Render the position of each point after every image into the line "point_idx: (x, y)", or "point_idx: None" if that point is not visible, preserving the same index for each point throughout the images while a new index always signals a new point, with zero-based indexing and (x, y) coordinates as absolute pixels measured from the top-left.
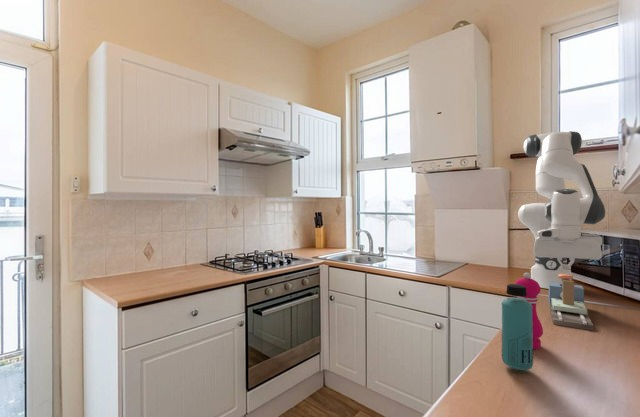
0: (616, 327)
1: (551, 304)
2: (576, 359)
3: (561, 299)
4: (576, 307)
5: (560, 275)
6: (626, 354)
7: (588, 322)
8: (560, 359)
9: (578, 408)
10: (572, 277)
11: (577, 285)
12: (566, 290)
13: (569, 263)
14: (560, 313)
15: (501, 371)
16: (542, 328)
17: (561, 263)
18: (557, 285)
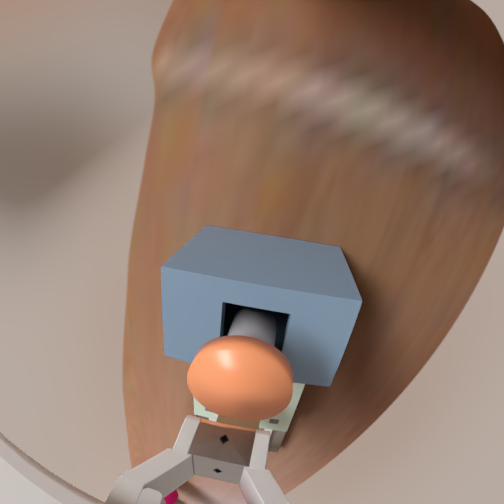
0: (346, 417)
1: None
2: (219, 493)
3: None
4: (261, 420)
5: (199, 402)
6: (287, 486)
7: (273, 442)
8: (202, 492)
9: None
10: (280, 406)
11: (336, 303)
12: None
13: (248, 493)
14: (215, 419)
15: None
16: (175, 501)
17: (176, 482)
18: (204, 341)
